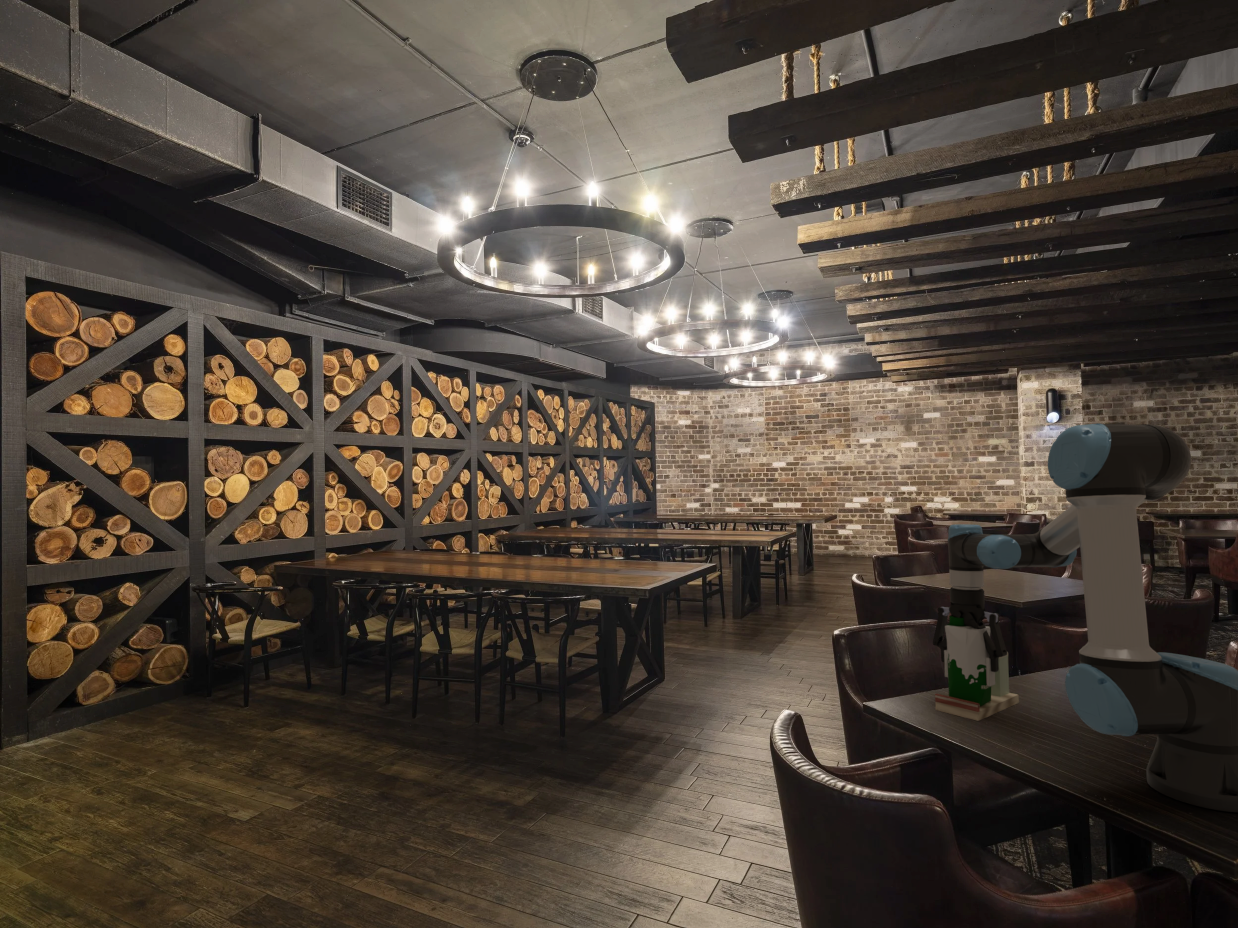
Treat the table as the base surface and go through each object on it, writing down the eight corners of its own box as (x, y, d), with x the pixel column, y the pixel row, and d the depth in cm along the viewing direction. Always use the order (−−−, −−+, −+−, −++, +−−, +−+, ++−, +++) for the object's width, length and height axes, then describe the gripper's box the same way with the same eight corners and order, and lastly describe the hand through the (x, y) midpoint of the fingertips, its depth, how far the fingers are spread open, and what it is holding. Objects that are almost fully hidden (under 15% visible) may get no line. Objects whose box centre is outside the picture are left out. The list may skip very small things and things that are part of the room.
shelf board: (978, 720, 152) (977, 704, 152) (935, 709, 160) (935, 693, 160) (1018, 702, 166) (1018, 687, 166) (977, 693, 173) (977, 678, 174)
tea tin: (1000, 696, 164) (999, 655, 164) (975, 691, 169) (973, 650, 169) (1009, 693, 167) (1008, 652, 167) (984, 687, 172) (982, 647, 172)
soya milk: (958, 692, 167) (955, 612, 168) (997, 701, 160) (994, 617, 161) (943, 700, 161) (940, 617, 162) (983, 708, 154) (980, 622, 155)
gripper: (1022, 590, 155) (1025, 687, 154) (930, 581, 173) (932, 668, 172) (1008, 593, 151) (1011, 693, 150) (915, 584, 168) (918, 673, 167)
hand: (969, 680), depth 161 cm, fingers open, 9 cm apart
